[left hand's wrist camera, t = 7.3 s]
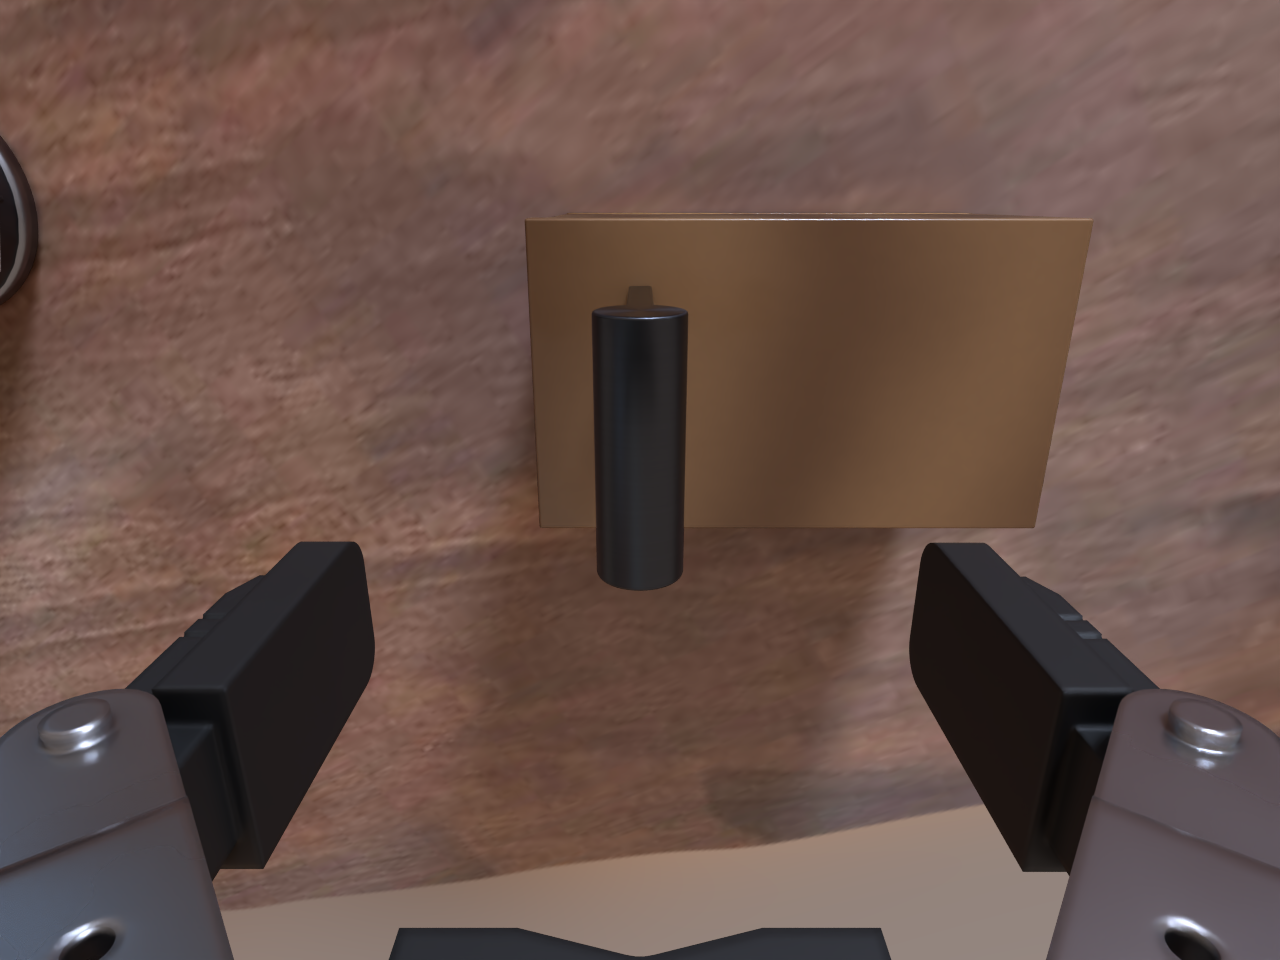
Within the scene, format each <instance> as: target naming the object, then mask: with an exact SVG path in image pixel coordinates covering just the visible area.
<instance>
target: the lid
mask: <svg viewBox="0 0 1280 960" xmlns="http://www.w3.org/2000/svg"><path fill="white" fill-rule="evenodd" d="M1092 226H1093V219H1091V218H527V219H525V235H526V255H527V276H528V297H529V317H530V338H531V358H532V379H533V399H534V420H535V440H536V461H537V482H538V502H539V523H540V527H541V528H596V547H597V573H598V575H599V577H600V578H601V579H602V580H603V581H604V582H606V583H607V584H609V585H611V586H614V587H617V588H621V589H626V590H637V591H643V590H654V589H659V588H663V587H666V586H668V585H671V584H673V583H674V582H676V581H677V580H678V579H679V578H680V577H681V575H682V572H683V545H684V528H1034V527H1035V522H1036V517H1037V512H1038V507H1039V502H1040V496H1041V491H1042V486H1043V481H1044V476H1045V470H1046V465H1047V460H1048V455H1049V450H1050V444H1051V439H1052V434H1053V429H1054V424H1055V418H1056V413H1057V408H1058V403H1059V398H1060V392H1061V387H1062V382H1063V377H1064V372H1065V366H1066V361H1067V356H1068V351H1069V345H1070V340H1071V335H1072V330H1073V325H1074V319H1075V314H1076V309H1077V304H1078V299H1079V293H1080V288H1081V283H1082V278H1083V273H1084V267H1085V262H1086V257H1087V252H1088V247H1089V241H1090V236H1091V231H1092Z"/></svg>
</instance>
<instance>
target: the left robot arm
mask: <svg viewBox="0 0 1280 960" xmlns="http://www.w3.org/2000/svg"><path fill="white" fill-rule="evenodd" d="M37 243H38V221H37V212H36V207H35V202H34V199H33V195H32V192H31V189H30V186H29V184H28V181H27V179H26V176H25V174H24V172H23V170H22V168H21V166H20V164H19V162H18V161H17V159H16V157H15V156H14V154H13V152H12V151H11V149H10V148H9V147H8V145H7V144H6V142H5V141H4V140H3V139H2V137H1V136H0V304H2V303H4V302H5V301H6V300H8V299H9V298H10V297H11V296H12V295H13V294H15V293H16V292H17V290H18V289H19V288H20V287H21V286H22V284H23V283H24V281H25V280H26V278H27V276H28V274H29V272H30V270H31V268H32V265H33V262H34V259H35V255H36V250H37ZM1101 635H1102V634H1101V633H1100V632H1099V631H1098V630H1097V629H1096V628H1095V627H1093V626H1092V625H1091V624H1090V623H1089V622H1088V621H1087V620H1083V619H1082V615H1081V614H1080V613H1079V612H1077V611H1076V610H1075V609H1074V608H1073V607H1072V606H1071V605H1070V604H1069V603H1068V602H1067V601H1066V600H1065V599H1064V598H1063V597H1061V596H1060V595H1059V594H1057V593H1055V592H1053V591H1052V590H1050V589H1048V588H1046V587H1044V586H1042V585H1040V584H1038V583H1036V582H1034V581H1033V580H1031V579H1029V578H1027V577H1020V576H1019V575H1018V574H1017V573H1016V572H1015V571H1014V570H1013V569H1012V568H1011V567H1010V566H1009V565H1008V564H1007V563H1006V562H1005V561H1004V560H1003V559H1002V558H1001V557H1000V556H999V555H998V554H997V553H996V552H995V551H994V550H993V549H992V548H991V547H990V546H988V545H987V544H985V543H929V544H928V545H927V546H926V547H925V549H924V551H923V553H922V557H921V562H920V569H919V576H918V583H917V590H916V598H915V605H914V612H913V619H912V627H911V634H910V642H909V655H910V664H911V670H912V674H913V678H914V680H915V683H916V685H917V687H918V689H919V691H920V692H921V694H922V696H923V698H924V699H925V701H926V703H927V705H928V706H929V708H930V710H931V712H932V713H933V715H934V717H935V719H936V720H937V722H938V724H939V726H940V727H941V729H942V731H943V733H944V734H945V736H946V738H947V740H948V741H949V743H950V745H951V747H952V748H953V750H954V752H955V754H956V755H957V757H958V759H959V761H960V762H961V764H962V766H963V768H964V769H965V771H966V773H967V775H968V776H969V778H970V780H971V782H972V783H973V785H974V787H975V789H976V790H977V792H978V794H979V796H980V797H981V799H982V801H983V803H984V804H985V806H986V808H987V810H988V811H989V813H990V815H991V817H992V818H993V820H994V822H995V824H996V825H997V827H998V829H999V831H1000V832H1001V834H1002V836H1003V838H1004V839H1005V841H1006V843H1007V845H1008V846H1009V848H1010V850H1011V852H1012V853H1013V855H1014V857H1015V859H1016V860H1017V862H1018V864H1019V866H1020V867H1021V869H1022V871H1023V872H1067V873H1068V875H1069V876H1070V877H1069V880H1068V884H1067V887H1066V891H1065V894H1064V898H1063V902H1062V905H1061V909H1060V912H1059V916H1058V919H1057V923H1056V926H1055V930H1054V933H1053V937H1052V941H1051V944H1050V948H1049V951H1048V955H1047V958H1046V960H1280V738H1279V737H1278V736H1277V735H1276V734H1275V733H1274V732H1272V731H1271V730H1270V729H1269V728H1267V727H1266V726H1265V725H1263V724H1262V723H1260V722H1259V721H1257V720H1256V719H1254V718H1252V717H1251V716H1249V715H1247V714H1245V713H1243V712H1241V711H1239V710H1237V709H1235V708H1233V707H1231V706H1228V705H1226V704H1224V703H1221V702H1219V701H1216V700H1213V699H1210V698H1207V697H1204V696H1200V695H1196V694H1192V693H1188V692H1183V691H1177V690H1168V689H1160V688H1158V687H1157V686H1156V685H1155V684H1154V683H1153V682H1152V681H1151V680H1150V679H1149V678H1148V677H1147V676H1146V675H1145V674H1144V673H1142V672H1141V671H1140V670H1139V669H1138V668H1137V667H1136V666H1135V665H1134V664H1133V663H1132V662H1131V661H1130V660H1129V659H1128V658H1126V657H1125V656H1124V655H1123V654H1122V653H1121V652H1120V651H1119V650H1118V649H1117V648H1116V647H1115V646H1114V645H1113V644H1112V643H1110V642H1109V641H1108V640H1107V639H1102V637H1101ZM374 655H375V640H374V632H373V624H372V617H371V610H370V602H369V595H368V588H367V581H366V573H365V566H364V559H363V555H362V552H361V549H360V547H359V545H358V544H357V543H355V542H299V543H297V544H296V545H295V546H294V547H293V548H292V549H291V550H290V551H289V552H288V553H287V554H286V555H285V556H284V557H283V558H282V559H281V560H280V561H279V562H278V563H277V564H276V565H275V566H274V567H273V568H272V569H271V570H270V571H269V572H268V573H267V574H266V575H259V576H258V577H256V578H254V579H252V580H250V581H248V582H246V583H244V584H242V585H241V586H239V587H237V588H235V589H233V590H231V591H229V592H227V593H225V594H224V595H223V596H222V597H221V598H220V599H219V600H218V601H217V602H216V603H215V604H214V605H213V606H212V607H211V608H210V609H209V610H208V611H206V612H205V613H204V614H203V619H198V620H197V621H196V622H195V623H194V624H193V625H192V626H191V627H190V628H189V629H187V630H186V631H185V632H184V637H179V638H178V639H177V640H176V641H175V642H174V643H173V644H172V645H171V646H170V647H168V648H167V649H166V650H165V651H164V652H163V653H162V654H161V655H160V656H159V657H158V658H157V659H156V660H155V661H154V662H153V663H152V664H151V665H149V666H148V667H147V668H146V669H145V670H144V671H143V672H142V673H141V674H140V675H139V676H138V677H137V678H136V679H135V680H134V681H133V682H132V683H130V684H129V685H128V686H127V687H126V688H125V689H112V690H103V691H97V692H92V693H88V694H84V695H80V696H76V697H73V698H70V699H67V700H64V701H61V702H59V703H56V704H54V705H52V706H49V707H47V708H45V709H43V710H41V711H39V712H37V713H35V714H33V715H31V716H29V717H28V718H26V719H24V720H23V721H21V722H20V723H18V724H17V725H15V726H14V727H13V728H11V729H10V730H9V731H8V732H6V733H5V734H4V735H3V736H2V737H1V738H0V960H234V958H233V955H232V951H231V948H230V944H229V941H228V937H227V933H226V930H225V926H224V923H223V919H222V916H221V912H220V909H219V905H218V901H217V898H216V894H215V891H214V887H213V884H212V881H213V879H214V878H215V876H216V875H217V873H218V871H219V870H220V869H264V867H265V865H266V863H267V861H268V860H269V858H270V856H271V854H272V853H273V851H274V849H275V847H276V846H277V844H278V842H279V840H280V838H281V837H282V835H283V833H284V831H285V830H286V828H287V826H288V824H289V822H290V821H291V819H292V817H293V815H294V814H295V812H296V810H297V808H298V806H299V805H300V803H301V801H302V799H303V798H304V796H305V794H306V792H307V791H308V789H309V787H310V785H311V783H312V782H313V780H314V778H315V776H316V775H317V773H318V771H319V769H320V767H321V766H322V764H323V762H324V760H325V759H326V757H327V755H328V753H329V752H330V750H331V748H332V746H333V744H334V743H335V741H336V739H337V737H338V736H339V734H340V732H341V730H342V728H343V727H344V725H345V723H346V721H347V720H348V718H349V716H350V714H351V712H352V711H353V709H354V707H355V705H356V704H357V702H358V700H359V698H360V697H361V695H362V693H363V691H364V689H365V688H366V686H367V684H368V682H369V679H370V677H371V673H372V669H373V664H374ZM389 960H891V958H890V955H889V952H888V949H887V946H886V943H885V940H884V936H883V934H882V930H881V928H761V929H756V930H753V931H748V932H744V933H740V934H736V935H732V936H728V937H724V938H720V939H716V940H712V941H708V942H704V943H700V944H696V945H692V946H688V947H684V948H680V949H676V950H672V951H668V952H664V953H660V954H656V955H651V956H645V957H635V956H629V955H624V954H620V953H616V952H612V951H608V950H604V949H600V948H596V947H592V946H588V945H584V944H580V943H576V942H572V941H568V940H564V939H560V938H556V937H552V936H548V935H544V934H540V933H536V932H532V931H528V930H524V929H520V928H399V930H398V934H397V936H396V940H395V943H394V946H393V949H392V952H391V955H390V958H389Z"/></svg>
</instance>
